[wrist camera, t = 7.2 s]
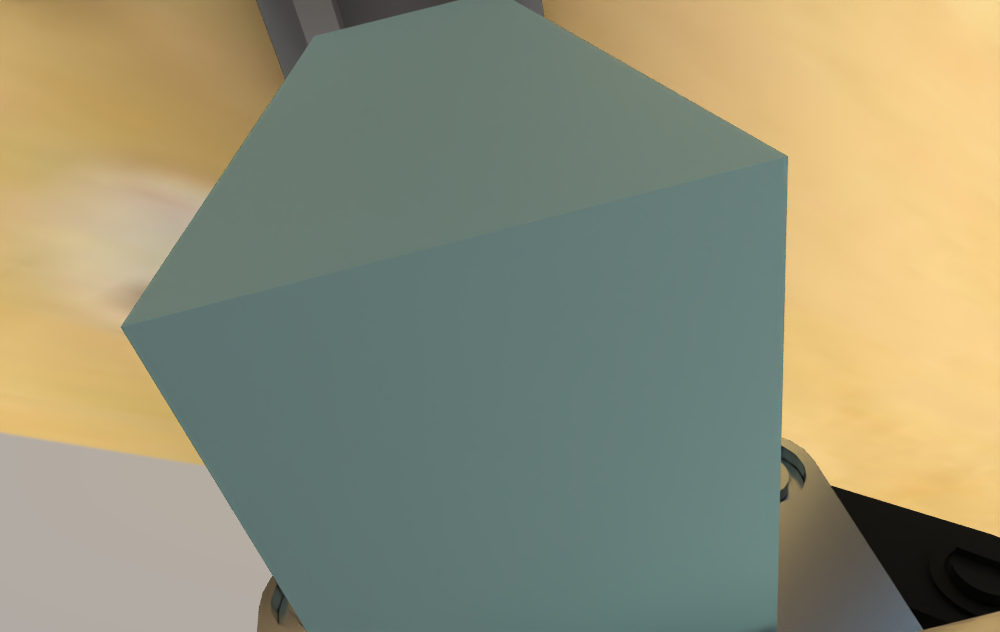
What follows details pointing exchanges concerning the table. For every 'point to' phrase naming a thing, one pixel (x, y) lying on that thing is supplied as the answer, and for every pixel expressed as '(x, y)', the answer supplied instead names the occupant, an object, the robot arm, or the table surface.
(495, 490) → the door panel
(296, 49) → the door frame
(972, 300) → the table surface
